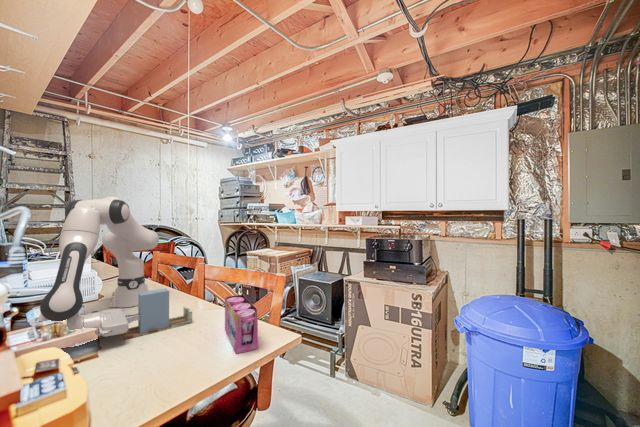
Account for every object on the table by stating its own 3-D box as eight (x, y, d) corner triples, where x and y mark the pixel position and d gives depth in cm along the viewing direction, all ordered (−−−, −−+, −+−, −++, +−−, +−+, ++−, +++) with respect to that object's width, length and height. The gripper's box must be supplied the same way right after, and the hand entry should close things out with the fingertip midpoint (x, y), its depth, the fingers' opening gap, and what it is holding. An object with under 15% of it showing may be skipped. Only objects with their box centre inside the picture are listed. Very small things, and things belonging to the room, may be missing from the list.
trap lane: (120, 334, 108) (120, 320, 108) (185, 318, 124) (185, 306, 124) (123, 342, 101) (123, 326, 101) (192, 324, 117) (192, 311, 117)
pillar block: (138, 330, 110) (138, 292, 110) (166, 323, 117) (166, 288, 117) (140, 334, 106) (140, 295, 106) (169, 327, 113) (169, 290, 113)
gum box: (259, 350, 95) (259, 311, 95) (236, 356, 91) (236, 315, 91) (243, 326, 116) (243, 294, 116) (224, 329, 112) (224, 296, 112)
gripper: (95, 325, 91) (144, 315, 100) (92, 309, 106) (135, 302, 116) (95, 344, 91) (144, 332, 100) (92, 326, 106) (135, 317, 116)
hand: (139, 316), depth 108 cm, fingers closed, pressing on pillar block
